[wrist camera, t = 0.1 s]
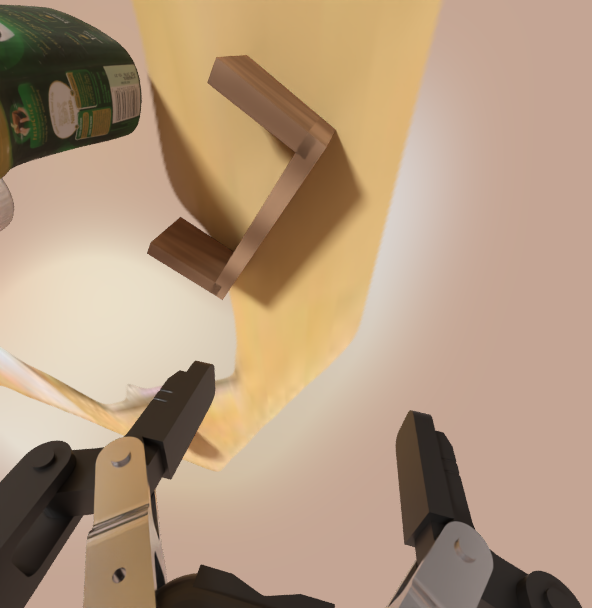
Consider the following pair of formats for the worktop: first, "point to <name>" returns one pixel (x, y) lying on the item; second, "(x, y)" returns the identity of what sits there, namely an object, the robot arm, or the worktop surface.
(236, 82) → the bracket
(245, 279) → the worktop surface
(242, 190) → the worktop surface
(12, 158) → the coffee jar
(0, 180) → the ramekin
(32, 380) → the worktop surface
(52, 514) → the robot arm
